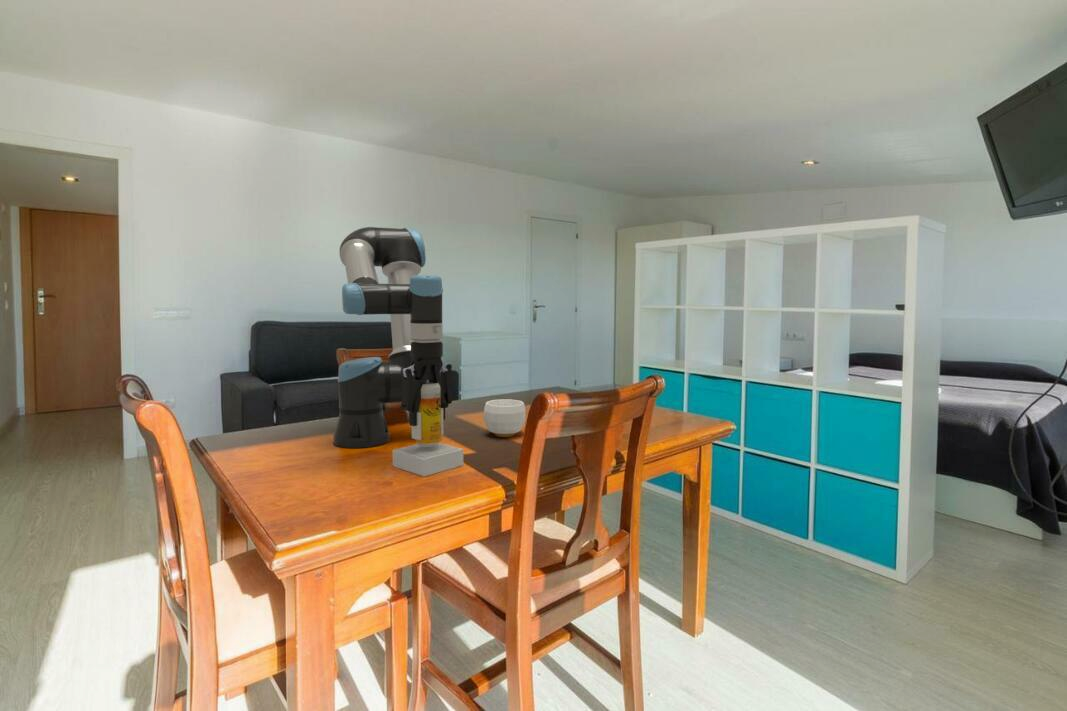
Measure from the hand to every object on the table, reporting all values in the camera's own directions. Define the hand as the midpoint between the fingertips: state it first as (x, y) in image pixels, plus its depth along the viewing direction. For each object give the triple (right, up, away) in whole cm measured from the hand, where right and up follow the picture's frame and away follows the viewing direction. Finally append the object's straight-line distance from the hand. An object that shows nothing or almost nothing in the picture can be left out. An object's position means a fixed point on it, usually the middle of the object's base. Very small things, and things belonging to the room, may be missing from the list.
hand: (427, 435), depth 140 cm
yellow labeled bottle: (0, -2, 0) cm, 2 cm away
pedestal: (0, -7, +1) cm, 7 cm away
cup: (+17, -4, +32) cm, 37 cm away
